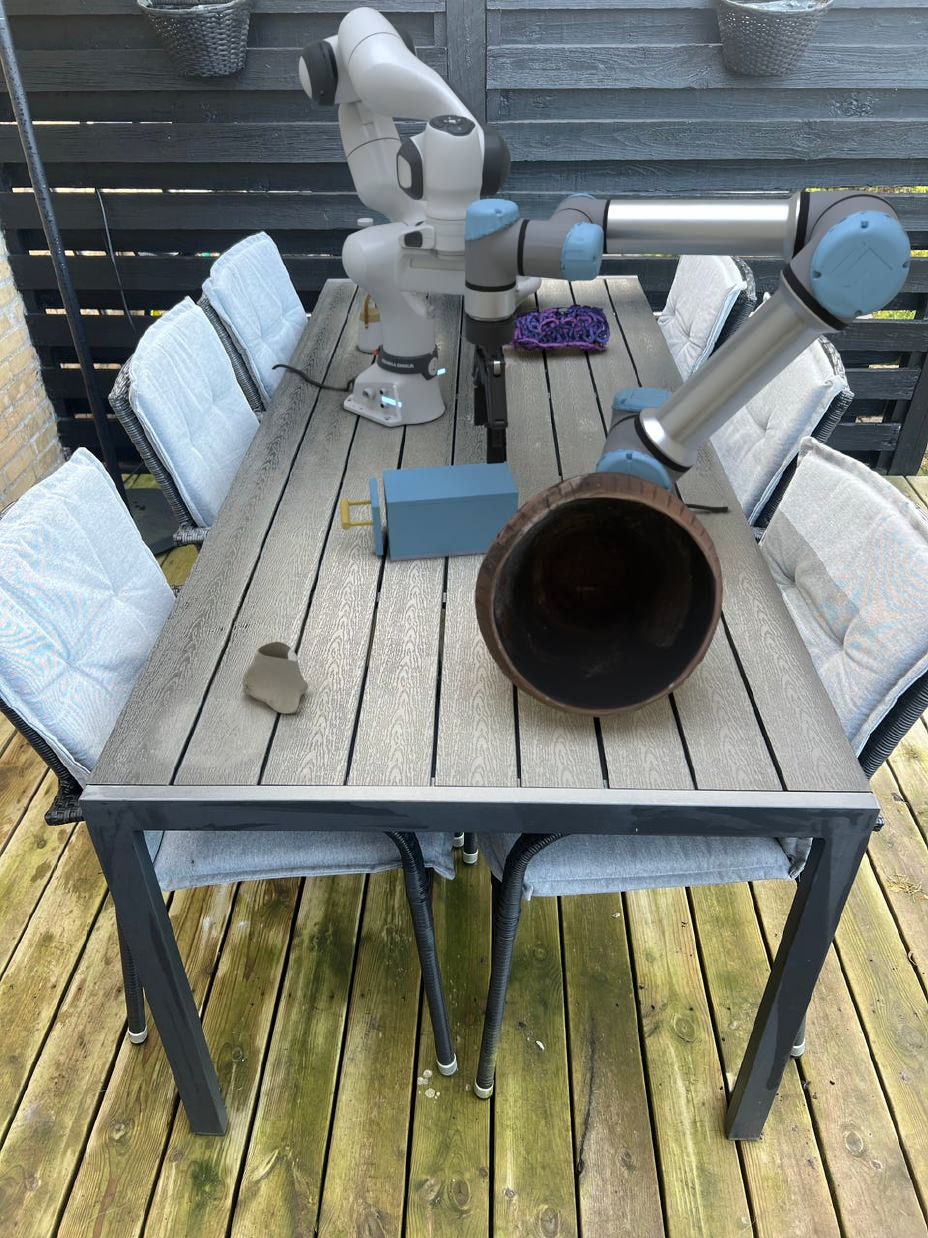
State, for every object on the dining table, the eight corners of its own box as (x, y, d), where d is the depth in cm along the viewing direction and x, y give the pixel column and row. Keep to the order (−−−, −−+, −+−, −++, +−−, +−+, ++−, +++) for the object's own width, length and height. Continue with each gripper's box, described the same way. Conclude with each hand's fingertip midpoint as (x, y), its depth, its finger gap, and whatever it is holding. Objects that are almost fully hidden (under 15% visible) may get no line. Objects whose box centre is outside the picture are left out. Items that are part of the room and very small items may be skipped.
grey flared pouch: (308, 702, 131) (315, 635, 129) (297, 722, 124) (304, 652, 121) (246, 693, 131) (251, 626, 129) (231, 713, 124) (236, 642, 121)
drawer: (344, 558, 155) (339, 509, 149) (342, 527, 163) (337, 480, 157) (495, 545, 158) (495, 497, 152) (486, 516, 165) (486, 469, 160)
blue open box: (391, 561, 156) (386, 502, 149) (386, 527, 164) (382, 470, 158) (516, 550, 158) (518, 491, 151) (506, 517, 167) (507, 460, 160)
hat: (455, 295, 261) (454, 240, 252) (532, 292, 263) (534, 237, 254) (465, 327, 242) (464, 268, 233) (548, 323, 244) (550, 264, 235)
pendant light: (382, 354, 227) (374, 226, 209) (352, 350, 230) (341, 223, 212) (395, 343, 234) (388, 216, 215) (366, 339, 236) (356, 214, 218)
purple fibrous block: (616, 330, 219) (490, 333, 216) (609, 367, 227) (487, 369, 225) (606, 296, 227) (484, 298, 224) (599, 332, 235) (482, 335, 233)
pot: (520, 423, 138) (555, 432, 109) (702, 511, 144) (783, 542, 115) (430, 616, 144) (441, 674, 115) (608, 693, 150) (662, 767, 121)
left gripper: (523, 230, 147) (521, 317, 155) (400, 225, 152) (405, 310, 160) (515, 241, 142) (513, 330, 151) (388, 235, 147) (393, 322, 155)
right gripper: (531, 342, 129) (525, 478, 142) (500, 285, 148) (498, 408, 161) (477, 345, 128) (476, 481, 141) (454, 287, 148) (455, 411, 161)
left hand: (456, 320), depth 155 cm, fingers open, 8 cm apart
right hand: (488, 443), depth 151 cm, fingers open, 13 cm apart
